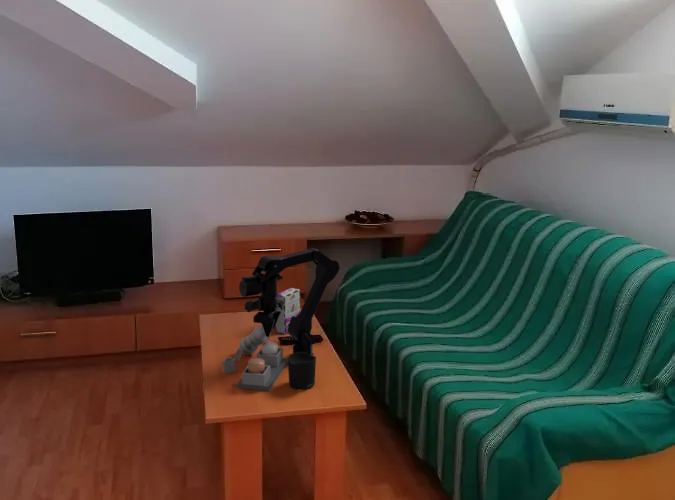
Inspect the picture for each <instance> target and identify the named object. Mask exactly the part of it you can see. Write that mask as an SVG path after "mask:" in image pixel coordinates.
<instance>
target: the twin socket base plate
mask: <svg viewBox="0 0 675 500" xmlns="http://www.w3.org/2000/svg"><path fill="white" fill-rule="evenodd" d="M256 358H260V359H263V360H264V361H265V372H264V373H263V374H256V373H248V365H246V367H245V369H243V370H242V373H241V378H240V380H239V381H238V382H237V383H236V386H237V389H243V390H253V391H254V390H255V391H256V390H257V391H263V392H264V391H266V392H270V390H271V389H272V387H273V386H274V384H275V383H276V381H277V379H278V378H279V376H281V374H282V372H283V370H284V369H285V367H286V366H287V365H288V358H284V348H283V347H278V353H277V355H276V356H275V355H264V354H262V347H261V348H260V349H259V351H258V352H257V353H256Z"/></svg>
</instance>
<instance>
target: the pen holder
mask: <svg viewBox="0 0 675 500" xmlns="http://www.w3.org/2000/svg"><path fill="white" fill-rule="evenodd" d="M287 359H288V363H287V366H288V367H287V371H288V372H287V373H288V384H289V387H291V389H294V390H297V391H304V390H305V391H306V390H310V389H312V388H313V387H314V386H315V382H316V367H317V366H316V363H317V362H316V361H317V357H316V356H314V355H313V356H311V355H309V354H307V353H305V352H296V353H293V352H292V353H290V354H289V355H288V356H287Z"/></svg>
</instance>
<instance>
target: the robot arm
mask: <svg viewBox="0 0 675 500" xmlns="http://www.w3.org/2000/svg"><path fill="white" fill-rule="evenodd" d="M310 262H312V263H314V265H315V266H316V267H315V270H314V271H315V279H314V281H313V283H312V285H311V288H310V290H309V292H308V294H307V296H306V299H305V300H304V303H303V306H302V308H301V309H300V314H299V315H298V316H296V317H294V316H292V318H291V321H290V323H289V324H288V326H289V327H288V333H287V334H288V335H289V336H290V337H291V339H292V340H294V344H293V345H292V353H296V352H305V353H307V354H309V355H311V356H314V354H315V353H314V352H313V345H315V343H316V341H317V338H316V337H315V336H314V335H313V334H312V333H311V332H312V328H313V324H312V323H313V317H314V315H315V313H316V310H317V309H318V306H319V304H320V302H321V299H322V297H323V296H324V293H325V290H326V289H327V286H328V284H329V283H331V281H333V280H334V279H335V278H336V276H337V275H338V273H339V272H340V268H341V267H340V264H339V262H338V261H337V260H336V259H332V258H330V257H328V256H327V255H325V254H324V253H322V252H321V251H320V250H319V249H317V248H314V247H310V248H308V249H305V250H299V251H296V252H293V253H292V252H291V253H288V254H284V255H264V256H261V257H260V259H259V261H258V262H257V265H256V266H255V268H254V270H253V272H251V273H252V274H251V275H250V276H242V277H241V281H240V282H239V285H238V290H239V294H240V295H241V296H242V297H243V298H245V297H247V298H248V297H251V296H258V297H256V298H253V299H250V300H247V301H246V302H245V303H244V310H246V311H247V313H251V312H252V311H256V310H258V312H257V313H255V315H254V316H253V317H252V318H253V323H255V324H261V325H262V326H263V328H264V331H265V334H266V337H269V336H270V337H271V334H272V333H273V332H274V331H275V328H276V323H277V321H278V319H279V316H280V314H281V311H277V309H278V308H280V309H281V310H283V309H284V302H283V301H281V300H277V298H278V297H279V294H278V280H282V279H284V278H283V276H282V275H281V274H280V273H281V272H283V271H284V270H286V269H287V268H291V267H294V266H298V265H302V264H305V263H310ZM271 330H272V333H271ZM270 333H271V334H270Z"/></svg>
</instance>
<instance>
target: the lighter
mask: <svg viewBox="0 0 675 500" xmlns="http://www.w3.org/2000/svg"><path fill="white" fill-rule="evenodd" d="M242 354H243V349H241V348H240V347H238V348H237V350H236V353H235V355H234V357H232V356H227V357H226V358H225V359H223V360H222V372H223V373H224V374H230V373H235V372H236V370H237V369H236V364H237V363H236V361H237V362H238V361H240V359H241V357H242Z"/></svg>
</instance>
